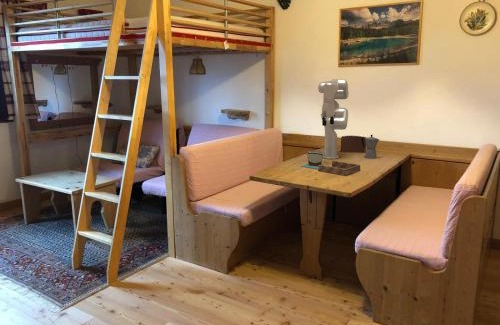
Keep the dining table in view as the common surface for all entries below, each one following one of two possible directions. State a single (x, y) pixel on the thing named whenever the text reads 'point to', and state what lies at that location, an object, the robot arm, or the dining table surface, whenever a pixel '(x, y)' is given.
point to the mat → (310, 166)
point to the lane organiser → (346, 171)
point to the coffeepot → (370, 147)
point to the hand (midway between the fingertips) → (328, 124)
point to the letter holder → (352, 144)
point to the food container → (315, 158)
